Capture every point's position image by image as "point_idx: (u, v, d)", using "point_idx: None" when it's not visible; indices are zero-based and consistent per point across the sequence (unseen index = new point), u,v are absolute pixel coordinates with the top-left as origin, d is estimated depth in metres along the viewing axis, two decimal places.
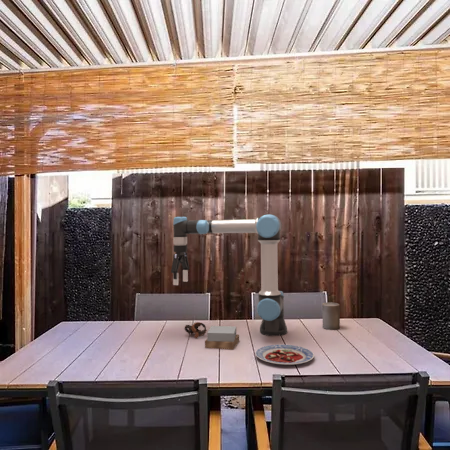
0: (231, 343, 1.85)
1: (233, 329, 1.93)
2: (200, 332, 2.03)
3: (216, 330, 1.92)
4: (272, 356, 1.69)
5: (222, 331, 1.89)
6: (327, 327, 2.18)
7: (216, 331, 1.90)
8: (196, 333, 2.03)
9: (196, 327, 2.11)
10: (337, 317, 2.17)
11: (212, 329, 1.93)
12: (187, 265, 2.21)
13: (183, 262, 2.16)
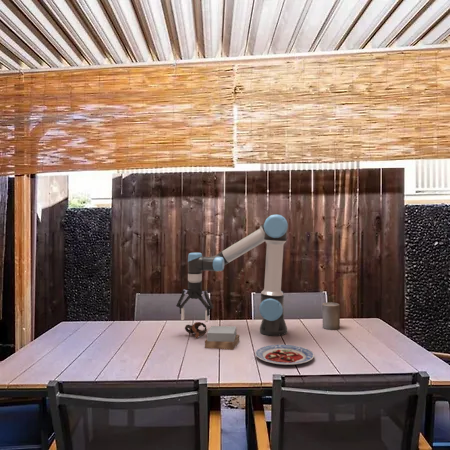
0: (231, 343, 1.84)
1: (233, 329, 1.93)
2: (200, 332, 2.04)
3: (216, 330, 1.92)
4: (272, 356, 1.69)
5: (222, 331, 1.89)
6: (327, 327, 2.18)
7: (216, 331, 1.89)
8: (196, 333, 2.04)
9: (196, 327, 2.12)
10: (337, 317, 2.17)
11: (212, 329, 1.93)
12: (209, 305, 2.05)
13: None
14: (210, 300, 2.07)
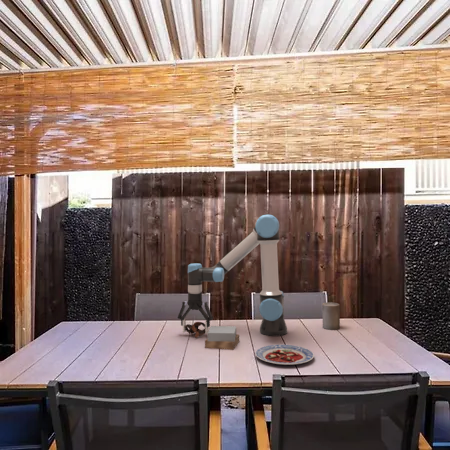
0: (231, 343, 1.84)
1: (233, 329, 1.93)
2: (200, 331, 2.04)
3: (216, 330, 1.92)
4: (272, 356, 1.69)
5: (222, 331, 1.89)
6: (327, 327, 2.18)
7: (217, 331, 1.89)
8: (196, 332, 2.04)
9: (196, 326, 2.12)
10: (337, 317, 2.17)
11: (212, 329, 1.93)
12: None
13: None
14: (210, 311, 2.07)
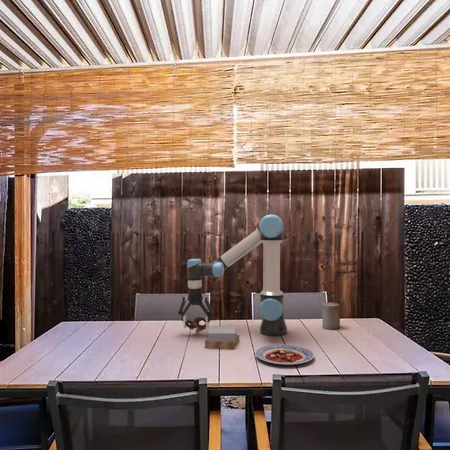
0: (231, 343, 1.84)
1: (233, 329, 1.93)
2: (201, 327, 2.04)
3: (216, 330, 1.91)
4: (272, 356, 1.69)
5: (223, 331, 1.89)
6: (327, 327, 2.18)
7: (217, 331, 1.89)
8: (197, 328, 2.04)
9: (197, 322, 2.12)
10: (337, 317, 2.17)
11: (212, 329, 1.93)
12: (209, 311, 2.05)
13: None
14: (210, 306, 2.07)
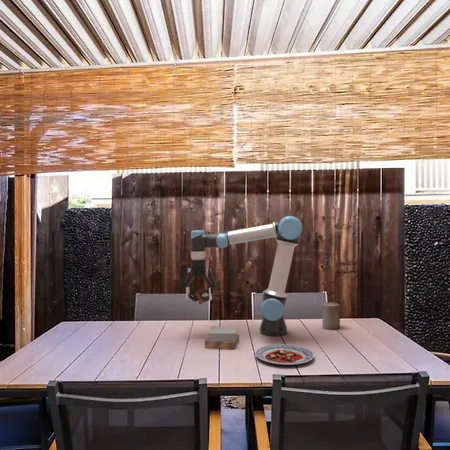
0: (231, 343, 1.84)
1: (233, 329, 1.93)
2: (204, 298, 2.02)
3: (217, 330, 1.91)
4: (272, 356, 1.69)
5: (223, 331, 1.89)
6: (327, 327, 2.18)
7: (217, 331, 1.89)
8: (200, 299, 2.02)
9: (200, 294, 2.10)
10: (337, 317, 2.17)
11: (213, 329, 1.93)
12: None
13: None
14: None
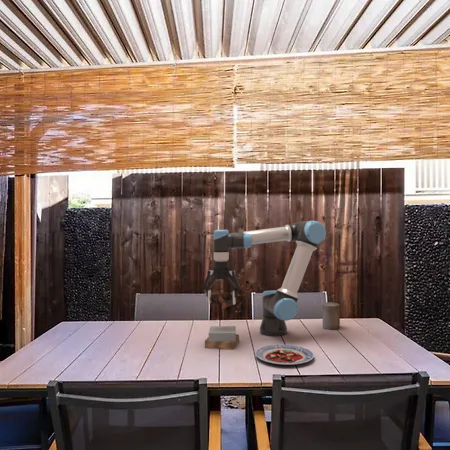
0: (231, 343, 1.85)
1: (233, 329, 1.93)
2: (228, 302, 1.89)
3: (216, 330, 1.91)
4: (272, 356, 1.69)
5: (223, 331, 1.89)
6: (327, 327, 2.18)
7: (217, 331, 1.89)
8: (223, 303, 1.89)
9: (222, 298, 1.97)
10: (337, 317, 2.17)
11: (212, 329, 1.93)
12: None
13: None
14: None
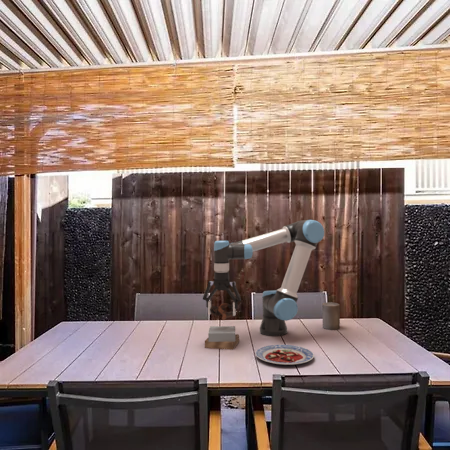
0: (231, 343, 1.85)
1: (233, 329, 1.93)
2: (228, 313, 1.89)
3: (216, 330, 1.91)
4: (272, 356, 1.69)
5: (223, 331, 1.89)
6: (327, 327, 2.18)
7: (217, 331, 1.89)
8: (224, 314, 1.89)
9: (222, 309, 1.97)
10: (337, 317, 2.17)
11: (212, 329, 1.92)
12: None
13: None
14: (238, 292, 1.92)
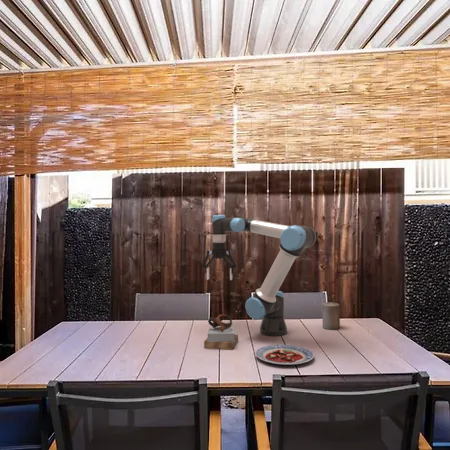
0: (230, 343, 1.84)
1: (232, 329, 1.93)
2: (226, 325, 1.89)
3: (215, 330, 1.91)
4: (272, 356, 1.69)
5: None
6: (327, 327, 2.18)
7: (216, 331, 1.89)
8: (222, 326, 1.88)
9: (220, 320, 1.97)
10: (337, 317, 2.17)
11: (211, 330, 1.92)
12: (233, 264, 2.16)
13: None
14: None
